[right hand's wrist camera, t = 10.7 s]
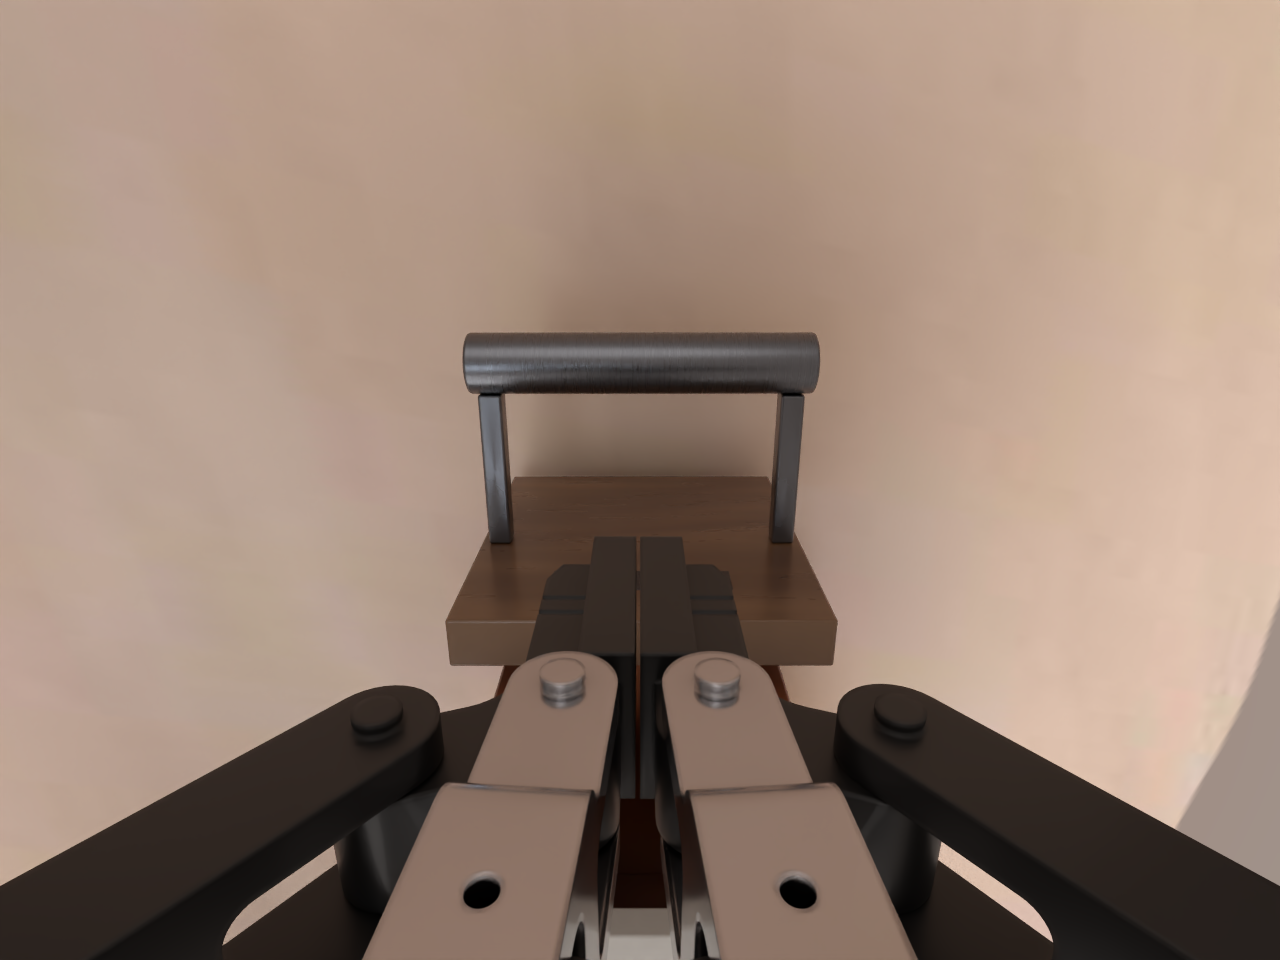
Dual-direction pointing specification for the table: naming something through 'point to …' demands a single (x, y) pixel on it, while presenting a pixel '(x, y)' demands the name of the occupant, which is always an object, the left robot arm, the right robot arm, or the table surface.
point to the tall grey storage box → (639, 934)
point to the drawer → (642, 516)
